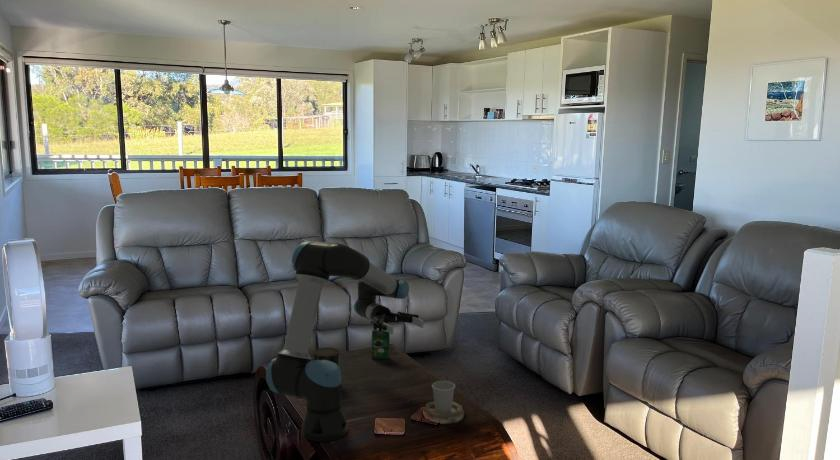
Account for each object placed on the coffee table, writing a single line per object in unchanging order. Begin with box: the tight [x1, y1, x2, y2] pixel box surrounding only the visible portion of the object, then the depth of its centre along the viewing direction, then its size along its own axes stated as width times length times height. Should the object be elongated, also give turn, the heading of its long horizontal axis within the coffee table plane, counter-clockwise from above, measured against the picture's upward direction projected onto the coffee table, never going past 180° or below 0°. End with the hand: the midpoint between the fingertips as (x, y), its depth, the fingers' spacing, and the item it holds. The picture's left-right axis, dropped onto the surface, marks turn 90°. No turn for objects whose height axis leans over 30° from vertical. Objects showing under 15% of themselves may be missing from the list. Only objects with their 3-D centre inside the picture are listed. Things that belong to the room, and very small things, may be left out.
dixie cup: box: [431, 380, 456, 414], centre depth 215 cm, size 8×8×10 cm
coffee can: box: [313, 347, 341, 369], centre depth 240 cm, size 10×10×14 cm
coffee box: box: [371, 328, 391, 360], centre depth 271 cm, size 8×3×13 cm, turn 88°
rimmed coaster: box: [423, 400, 465, 425], centre depth 215 cm, size 15×15×2 cm
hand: (407, 327), depth 225 cm, fingers open, 13 cm apart
